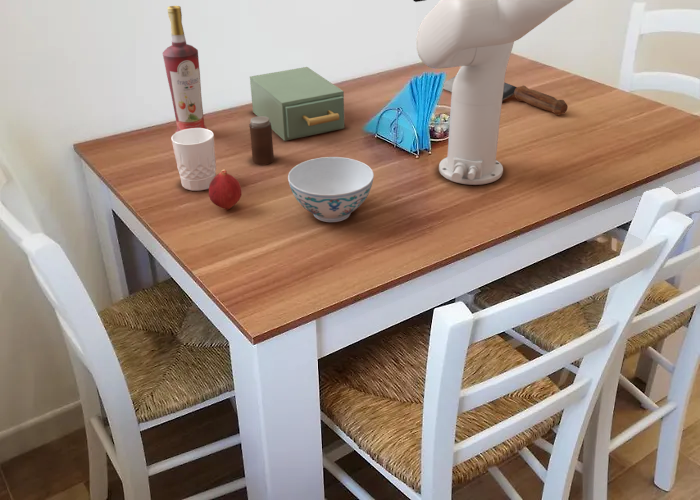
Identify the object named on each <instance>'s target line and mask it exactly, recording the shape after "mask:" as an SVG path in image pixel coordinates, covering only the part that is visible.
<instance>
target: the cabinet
mask: <svg viewBox="0 0 700 500" xmlns="http://www.w3.org/2000/svg"><path fill="white" fill-rule="evenodd" d="M249 84H250V94H251V106H252V113H254V114H255V115H256V117H257V116H265V117H268V118H269V122H270V123H271V129H272V132H274V133H275V134H276V135H277V136H278V137H280V138H281V139H282V141H284V142H285V141H291V140H296V139H300V138H304V137H305V138H306V137H309V136H310V137H311V136H314V135H319V134H325V133H329V132H333V131H338V130H342V129H345V126H344V127H340V128H335V129H331V130H326V131H321V132H316V133H312V134H307V135H302V136H297V137H293V138H288V137H287V130H286V115H285V107H286V106H288V105H294V104H299V103H304V102H309V101H315V100H320V99H325V98H330V97H338V96H342V97H344V98H345V91H344V90H342V89H341V88H340V87H338V86H337V85H335V84H333V83H332V82H331V81H329V80H328V79H326V78H325V77H323V76H321V74H318V73H317V72H316V71H314V70H312V69H311V68H310V67H308V66H303V67H298V68H292V69H286V70H281V71H280V70H279V71H275V72H269V73H263V74H257V75H251V76H249Z"/></svg>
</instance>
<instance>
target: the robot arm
mask: <svg viewBox="0 0 700 500" xmlns="http://www.w3.org/2000/svg"><path fill="white" fill-rule="evenodd" d="M412 1H413V2H415V3H417V2H418V3H419V2H425V1H426V0H412ZM573 1H574V0H438V2H437V3H436V4H435V5H434V6H433V7H432V8H431V9H430V10H429V12H428V13H426V14H425V16H424V17H423V18H422V20H421V22H420V24H419V26H418V29H417V33H416V38H415V47H416V52H417V55H418V57H419V59H420V60H421V62H422V63H423V64H424V65H425V66H427V67H428V68H431V69H435V70H436V69H438V70H439V69H450V68H458V67H459V70H458V71H457V73H456V75H455V76H456V77H455V76H454V77H455V79H454V82H453V86H452V92H451V97H450V109H449V110H450V112H449V125H448V127H449V128H448V142H447V143H448V144H447V156H446V157H444V158H443V159H441V161H439V164H438V172H439V173H440V175H441V176H442V177H444V178H445V179H447V180H448V181H451V182H453V183H457V184H462V185H469V186H472V185H473V186H478V185H486V184H491V183H493V182H497V181H498V180H499V179H500V178H501V177H502V176H503V174H504V166H503V164H502V163H501V162H500V161H498V160H497V152H498V144H499V134H500V124H501V115H502V105H503V100H502V98H503V89H504V82H505V81H506V74H507V70H508V69H507V68H508V64H509V61H510V57H511V54H512V50H513V47H514V45H515V42H517V41H519V40H521V38H523V37H525V36H526V35H528V34H529V33H530V32H532V31H533V30H534V29H535V28H537V27H538V26H539V25H541V24H542V23H543V22H545V21H546V20H548V19H549V18H550V17H551V16H553V15H554V14H555V13H557V12H558V11H560V10H562V9H563V8H564V7H566V6H567V5H569V4H570V3H572V2H573Z"/></svg>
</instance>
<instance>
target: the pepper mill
mask: <svg viewBox="0 0 700 500" xmlns="http://www.w3.org/2000/svg"><path fill="white" fill-rule="evenodd" d="M249 121H250V122H249V124H248V125H249V136H250V147H251V156H252V157H251V158H252V162H253V164H255V165H260V166H263V165H269V164H271V163H273V162H274V160H275V157H274V156H275V155H274V143H273V130H272V129H271V123H270V122H269V118H268V117H265V116H257V115H256V116H253V117H251V118H250V120H249Z"/></svg>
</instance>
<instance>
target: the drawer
mask: <svg viewBox="0 0 700 500" xmlns="http://www.w3.org/2000/svg"><path fill="white" fill-rule="evenodd" d="M285 115H286V130H287V137H288V138H293V137H297V136H302V135H307V134H312V133H316V132H321V131H326V130H331V129H335V128H340V127H344V128H345V96H344V97H342V96H338V97H330V98H325V99H320V100H315V101H309V102H304V103H299V104H294V105H288V106H286V107H285Z"/></svg>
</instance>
